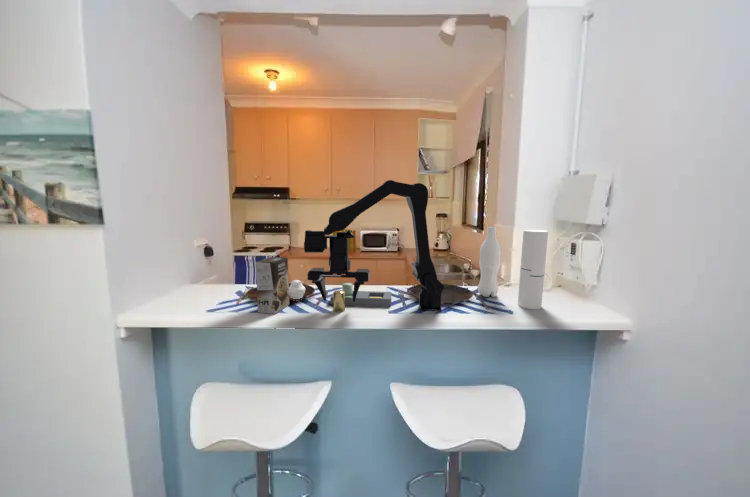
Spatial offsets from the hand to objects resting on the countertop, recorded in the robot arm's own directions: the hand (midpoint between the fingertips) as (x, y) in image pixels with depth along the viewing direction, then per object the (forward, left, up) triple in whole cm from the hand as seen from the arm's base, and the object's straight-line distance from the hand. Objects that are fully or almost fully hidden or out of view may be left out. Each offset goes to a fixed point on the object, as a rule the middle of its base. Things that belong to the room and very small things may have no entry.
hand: (339, 301), depth 101 cm
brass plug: (0, 0, -3) cm, 3 cm away
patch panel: (-6, -9, -3) cm, 11 cm away
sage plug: (-1, -9, -3) cm, 10 cm away
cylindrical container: (-62, -10, -3) cm, 63 cm away
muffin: (+17, -9, -3) cm, 20 cm away
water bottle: (-51, -20, -3) cm, 55 cm away
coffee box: (+21, +1, -3) cm, 21 cm away
